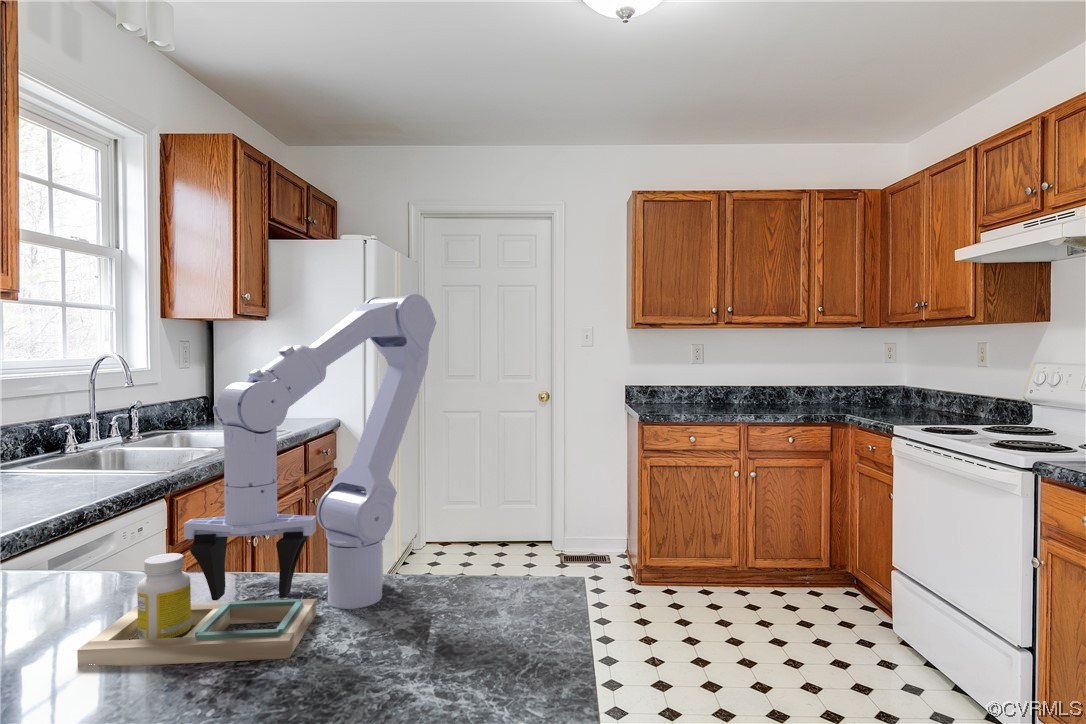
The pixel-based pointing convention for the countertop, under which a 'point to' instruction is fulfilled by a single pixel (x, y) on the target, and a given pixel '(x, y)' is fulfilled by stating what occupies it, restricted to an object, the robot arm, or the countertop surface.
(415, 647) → the countertop surface
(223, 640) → the panel
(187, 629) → the supplement bottle
